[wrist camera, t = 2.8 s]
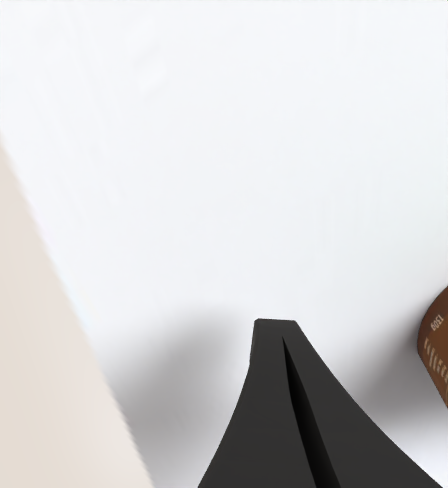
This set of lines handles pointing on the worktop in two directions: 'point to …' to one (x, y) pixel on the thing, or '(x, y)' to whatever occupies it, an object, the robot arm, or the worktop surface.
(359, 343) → the worktop surface
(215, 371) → the worktop surface
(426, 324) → the food container
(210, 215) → the worktop surface
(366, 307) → the worktop surface
